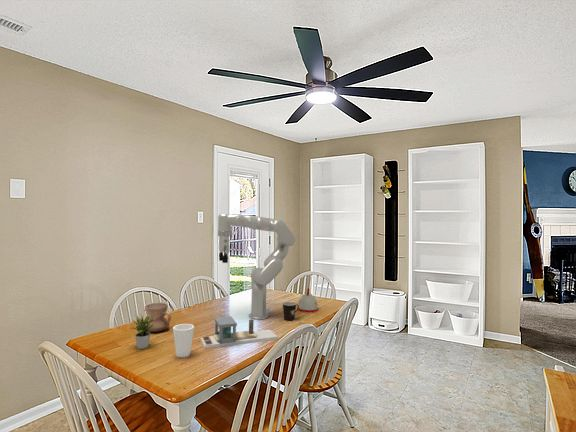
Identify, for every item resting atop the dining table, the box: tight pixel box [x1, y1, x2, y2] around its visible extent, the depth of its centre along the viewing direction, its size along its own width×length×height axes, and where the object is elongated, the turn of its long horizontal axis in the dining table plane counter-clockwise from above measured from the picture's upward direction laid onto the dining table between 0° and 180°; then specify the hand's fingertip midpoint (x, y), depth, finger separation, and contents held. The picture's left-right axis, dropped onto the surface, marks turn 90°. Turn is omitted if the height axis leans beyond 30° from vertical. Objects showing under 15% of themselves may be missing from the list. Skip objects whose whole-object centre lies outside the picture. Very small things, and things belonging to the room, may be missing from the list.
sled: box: [213, 318, 257, 342], centre depth 183 cm, size 21×8×8 cm, turn 113°
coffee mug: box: [282, 301, 299, 322], centre depth 222 cm, size 12×9×10 cm
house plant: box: [128, 313, 158, 350], centre depth 170 cm, size 14×14×16 cm
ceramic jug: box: [143, 301, 172, 333], centre depth 196 cm, size 18×14×14 cm
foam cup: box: [172, 323, 195, 358], centre depth 163 cm, size 10×9×13 cm
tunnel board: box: [200, 315, 279, 350], centre depth 184 cm, size 38×13×11 cm, turn 113°
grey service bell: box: [297, 287, 319, 314], centre depth 245 cm, size 14×14×15 cm
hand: (223, 261), depth 216 cm, fingers open, 9 cm apart
